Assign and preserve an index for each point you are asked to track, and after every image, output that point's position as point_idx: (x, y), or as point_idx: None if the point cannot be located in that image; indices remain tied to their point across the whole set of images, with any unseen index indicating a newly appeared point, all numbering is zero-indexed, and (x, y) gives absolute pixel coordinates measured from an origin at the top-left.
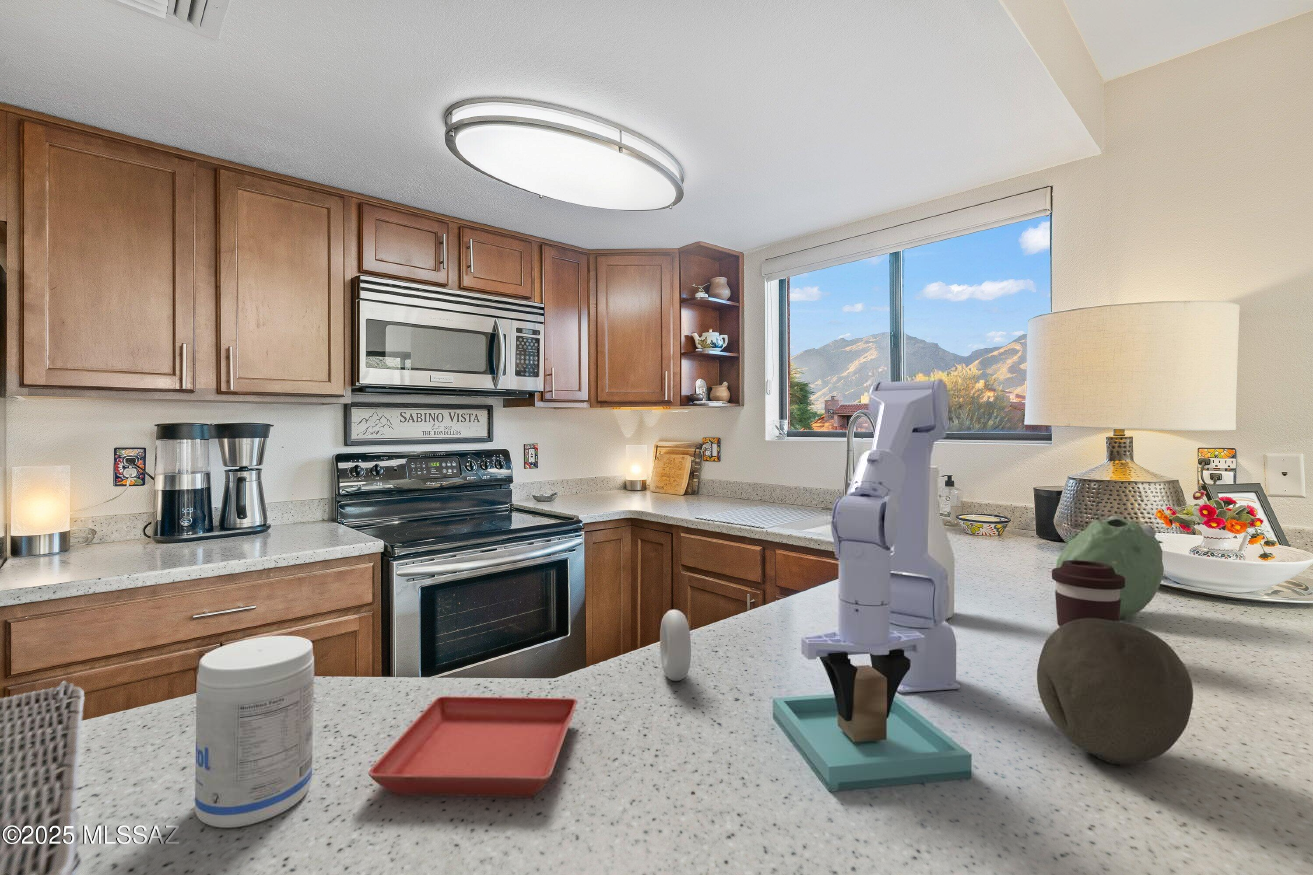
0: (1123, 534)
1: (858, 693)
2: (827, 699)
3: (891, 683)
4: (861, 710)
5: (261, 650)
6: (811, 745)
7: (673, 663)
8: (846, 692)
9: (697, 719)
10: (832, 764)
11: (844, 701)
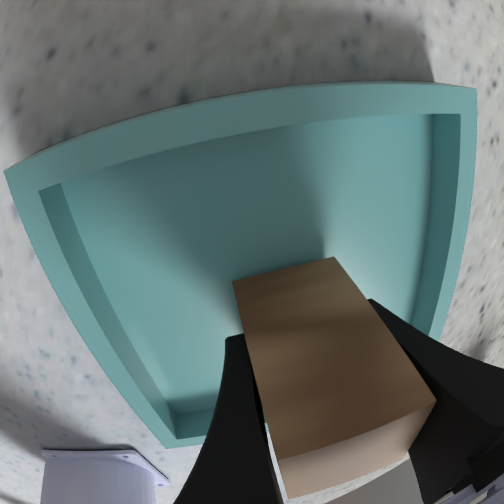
0: None
1: (394, 364)
2: None
3: (250, 441)
4: (351, 322)
5: None
6: (472, 191)
7: None
8: (439, 351)
9: (495, 313)
10: (467, 97)
11: (419, 331)
